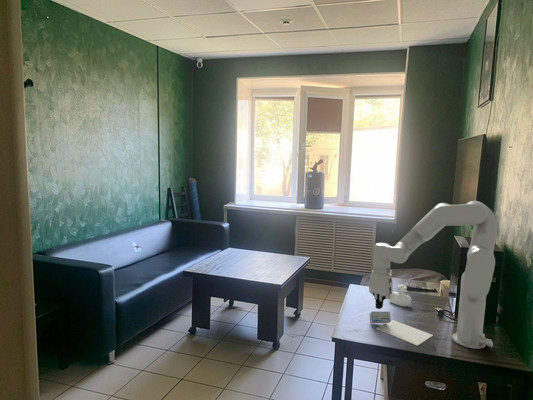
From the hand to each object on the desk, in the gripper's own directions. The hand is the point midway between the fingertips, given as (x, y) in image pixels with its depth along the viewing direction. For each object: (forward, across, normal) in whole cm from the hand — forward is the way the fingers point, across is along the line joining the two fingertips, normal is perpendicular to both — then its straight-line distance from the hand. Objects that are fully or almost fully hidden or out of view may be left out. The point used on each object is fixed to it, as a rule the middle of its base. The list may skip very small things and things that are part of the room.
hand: (379, 307), depth 176 cm
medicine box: (+5, 0, +1) cm, 5 cm away
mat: (+7, -13, 0) cm, 15 cm away
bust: (+7, +5, -29) cm, 30 cm away
